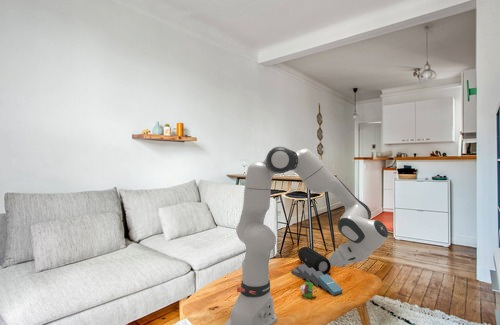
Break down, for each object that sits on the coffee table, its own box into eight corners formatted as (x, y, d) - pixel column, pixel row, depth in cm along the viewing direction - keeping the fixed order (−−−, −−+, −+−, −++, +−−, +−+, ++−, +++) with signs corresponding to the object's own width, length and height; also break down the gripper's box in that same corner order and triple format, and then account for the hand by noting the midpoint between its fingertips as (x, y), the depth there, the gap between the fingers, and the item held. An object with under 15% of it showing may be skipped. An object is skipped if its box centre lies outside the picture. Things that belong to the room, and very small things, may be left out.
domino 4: (334, 285, 140) (319, 270, 149) (326, 287, 138) (311, 272, 147) (333, 288, 141) (319, 273, 150) (325, 290, 138) (311, 275, 147)
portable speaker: (296, 262, 180) (296, 246, 180) (311, 260, 182) (310, 244, 182) (316, 277, 155) (316, 259, 155) (332, 275, 158) (332, 257, 158)
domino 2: (317, 276, 150) (304, 263, 159) (309, 279, 147) (296, 265, 156) (316, 279, 151) (303, 266, 160) (309, 282, 148) (296, 268, 157)
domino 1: (311, 274, 155) (298, 267, 164) (303, 276, 152) (291, 269, 162) (311, 277, 155) (298, 271, 164) (303, 280, 152) (291, 273, 162)
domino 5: (342, 289, 135) (327, 274, 144) (334, 292, 133) (318, 276, 142) (341, 293, 136) (326, 277, 145) (332, 295, 133) (318, 279, 142)
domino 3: (326, 281, 145) (312, 267, 154) (318, 283, 142) (304, 269, 151) (325, 284, 146) (311, 270, 155) (317, 287, 143) (303, 272, 152)
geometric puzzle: (307, 285, 140) (302, 276, 136) (320, 289, 135) (315, 279, 132) (301, 299, 135) (296, 289, 132) (314, 303, 131) (309, 293, 127)
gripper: (371, 240, 125) (353, 256, 133) (336, 245, 115) (319, 262, 124) (379, 253, 121) (361, 268, 129) (344, 259, 111) (326, 275, 120)
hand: (340, 265), depth 126 cm, fingers closed
